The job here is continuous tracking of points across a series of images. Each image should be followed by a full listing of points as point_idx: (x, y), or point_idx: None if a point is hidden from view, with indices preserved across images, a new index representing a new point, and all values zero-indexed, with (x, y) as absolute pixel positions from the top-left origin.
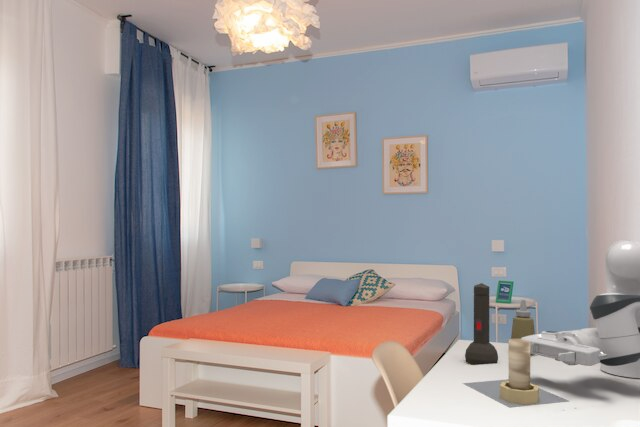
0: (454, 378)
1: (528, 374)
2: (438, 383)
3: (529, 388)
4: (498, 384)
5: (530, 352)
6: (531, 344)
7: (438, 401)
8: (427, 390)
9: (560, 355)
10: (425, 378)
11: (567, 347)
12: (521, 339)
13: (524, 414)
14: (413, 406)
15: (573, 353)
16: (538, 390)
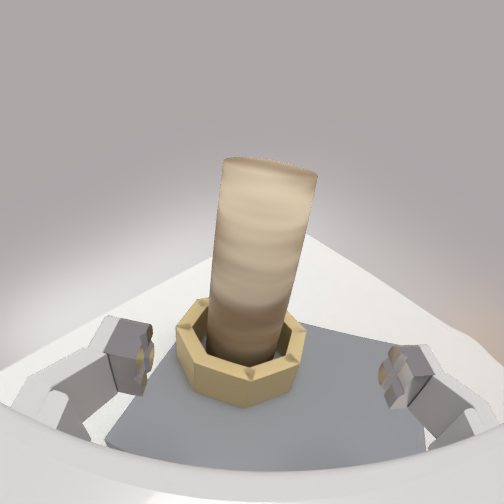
0: (470, 379)
1: (210, 285)
2: (434, 335)
3: (207, 330)
4: (383, 413)
5: (390, 400)
6: (464, 413)
7: (328, 277)
8: (392, 299)
9: (108, 320)
10: (465, 336)
11: (77, 453)
12: (287, 174)
13: (176, 311)
14: (319, 250)
15: (22, 392)
16: (188, 357)
